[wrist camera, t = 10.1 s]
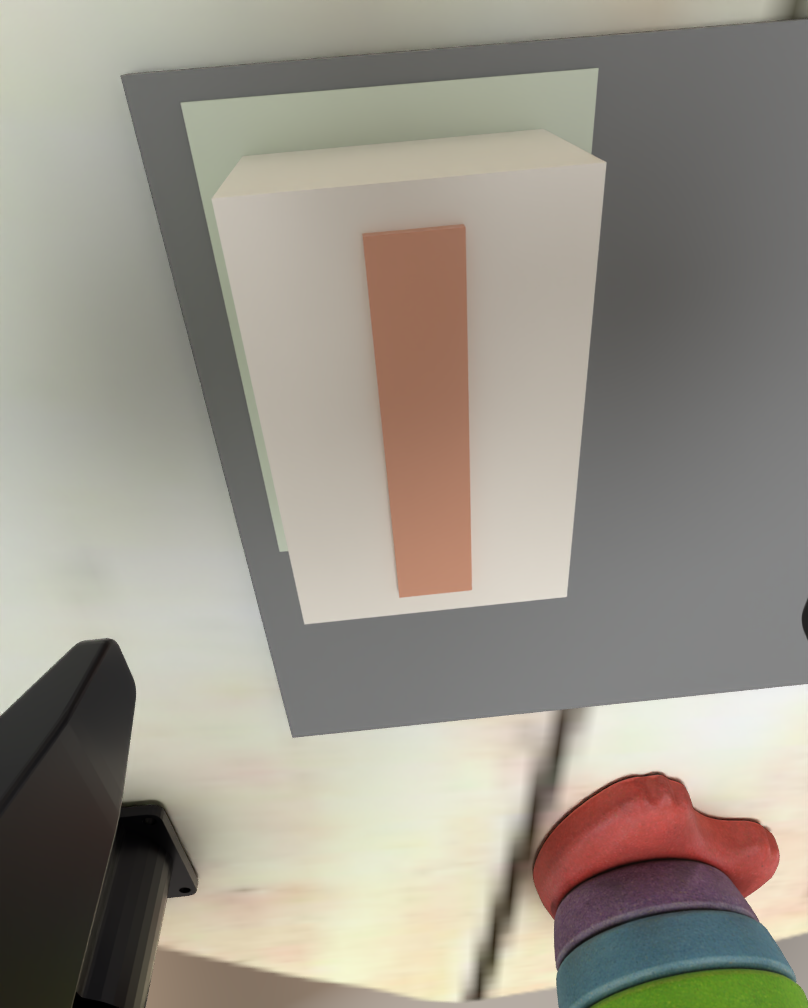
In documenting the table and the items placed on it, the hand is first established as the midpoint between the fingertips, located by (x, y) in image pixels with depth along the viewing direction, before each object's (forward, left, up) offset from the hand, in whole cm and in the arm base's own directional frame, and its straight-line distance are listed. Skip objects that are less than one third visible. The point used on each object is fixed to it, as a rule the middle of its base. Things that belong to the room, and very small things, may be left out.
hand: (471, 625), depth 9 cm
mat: (-4, -6, -10) cm, 12 cm away
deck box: (0, 0, -9) cm, 9 cm away
